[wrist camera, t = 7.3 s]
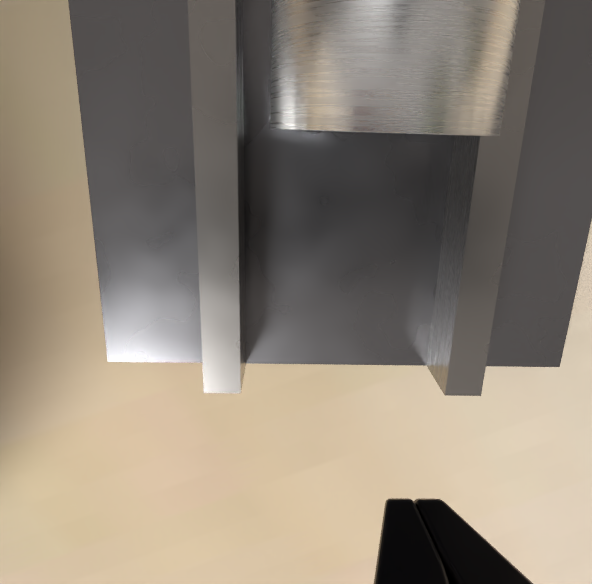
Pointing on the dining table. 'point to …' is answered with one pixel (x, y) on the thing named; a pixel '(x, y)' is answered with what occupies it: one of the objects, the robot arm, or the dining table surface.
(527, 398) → the dining table surface
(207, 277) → the vise clamping cylinder
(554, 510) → the dining table surface
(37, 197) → the dining table surface
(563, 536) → the dining table surface
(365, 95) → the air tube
